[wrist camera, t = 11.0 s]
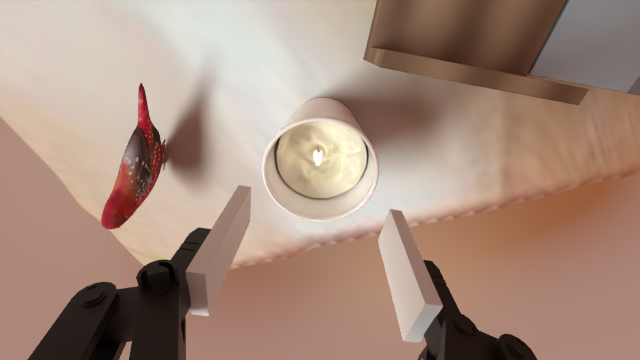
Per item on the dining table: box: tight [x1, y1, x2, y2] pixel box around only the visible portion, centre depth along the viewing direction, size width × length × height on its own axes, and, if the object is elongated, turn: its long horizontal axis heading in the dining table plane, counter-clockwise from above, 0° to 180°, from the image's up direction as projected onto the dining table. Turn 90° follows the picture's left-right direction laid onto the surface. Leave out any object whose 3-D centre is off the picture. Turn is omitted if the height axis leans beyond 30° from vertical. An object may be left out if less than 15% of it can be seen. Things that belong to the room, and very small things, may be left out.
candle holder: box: [262, 98, 379, 222], centre depth 26 cm, size 10×10×12 cm
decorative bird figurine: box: [101, 83, 165, 229], centre depth 28 cm, size 3×18×10 cm, turn 156°
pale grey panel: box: [527, 0, 640, 95], centre depth 22 cm, size 1×13×10 cm
